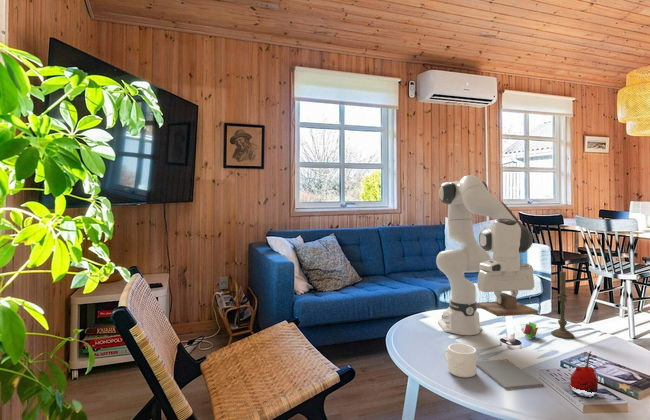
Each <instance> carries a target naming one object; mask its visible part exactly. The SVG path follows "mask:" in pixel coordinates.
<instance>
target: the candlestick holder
mask: <svg viewBox="0 0 650 420" xmlns="http://www.w3.org/2000/svg"><path fill="white" fill-rule="evenodd" d="M566 274H567V273H566V271H564V270H562V271H559V293H558V294H557V297H558V302H559V303H560V304H559V305H560V306H559V308H560V318H559V319H558V320H557V323H558V325H559V328H556V329H554V330H551V332H550V334H551V336H553V337H556V338H560V339H564V338H565V339H566V340H567V339H568V340H569V339H573V338H575V334H574V333H572V332H570V330H567V329H566V326H567V323H568V321H567V320H566V319H565V309H566V304H565V303H566V302H568V301H567V300H568V299H567V298H568V295H567V294H566V286H567V285H566V284H567V283H566ZM565 339H564V340H565Z"/></svg>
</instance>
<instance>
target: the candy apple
mask: <svg viewBox="0 0 650 420" xmlns="http://www.w3.org/2000/svg"><path fill="white" fill-rule="evenodd" d="M585 353H586V354H587V360H585V361H586V364H585V366H579V365H578V366H576V367H575V370H574V371H573V372H572V374H571V375H570V377H569V380H570V382H569V386H570V385H571V386H572V387H574V388H576V389H580V390H585V391H587V392H591V393H592V392H597V391H598V384H599V381H598V376H597V375H596V373H595V370H594V367H592V366H589V362H590V358H593V359H597V355H596V354H595V355H592V354H591V353H592V351H589V352H587V351H585ZM597 393H598V392H597Z"/></svg>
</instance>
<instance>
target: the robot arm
mask: <svg viewBox="0 0 650 420" xmlns="http://www.w3.org/2000/svg"><path fill="white" fill-rule="evenodd" d="M438 197H439V200H440V202H441V203H443V204H444V205H445V204H446V205H448V207H447V226H448V236H449V238H450V239H451V240H452V241H453V242H456V243H458V245H459V246H460V248H461V249H447V250H442V251H439V253H438V254H437V255H436V259H435V263H436V266H437V269H438V270H439V271H440V272H442V273H443V274H444V275H445V276H446V278H447V279H448V282H449V285H450V291H451V292H450V297H451V299H450V300H449V301H448V302H449V306H448V307H447V308H446V309H445V310H444V311H443V312H442V314H441V319H438V320H437V323H438V325H439V326H440V327H441V328H442V330H443V331H444V332H446V333H451V334H457V335H463V336H474V335H478V334H479V333H480V332H481V331H482V330H483V327H482V326H481V325H480V323H481V322H480V313H479V312H478V311H477V310H478V306H477V303H478V302H477V300H476V299H477V294H476V293H477V291H476V290H477V288H478V290H479V291H481V292H483V293H493V294H494V295H495V297H496V302H497V303H499V304H502V303H504V302H503V301H504V299H503V298H501V296H500V294H501V293H502V292H511V294H510V295H511V296H514V297H516V298H517V296H518V294H519V291H531V290H533V289H534V288H535V279H534V267H533V266H532V265H530V264H529V263H521V255H520V254H524V253H526V252H527V251H528V250H529V249H530V248H531V247H532V245H533V241H534V240H533V235H532V232H531V231H530V230H529V228H528V227H526V226H525V225H523V224H522V223H521V221H520V220H519V219H518V217H516V216H515V215H514V213H513V212H512V210H511V209H510V208H509V207H508V206H507V205H506V204H505V203H504V202H503V201H502V200H500V199H498V198H496V197H495V196H493V194H492V193H490V192H489V188H488V184H487V183H486V182H485V181H483V180H481V179H480V178H479V176H476V175H473V174H470V175H466V176H463V177H462V178H461V179H460V180H457V181H446V182H443V183H442V184H441V185H440V186H439V191H438ZM472 214H474V215H477V216H482V217H483V216H484V217H489V218H492V219H495V220H494V221H493V224H492V225H490V226H487V227H484V228H483V229H482V230H480V232H479V236H478V241H477V240H476V237H475V233H474V227H473V220H472V219H473V218H472V217H473V216H472ZM478 242H479V243H478ZM489 252H490V253H492V258H491V255H490V254H489ZM465 273H478V276H477V288H476V285H475V284H474V282H472V281H470V280H469V279H467V278H466V276H465Z"/></svg>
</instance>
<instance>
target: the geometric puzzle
mask: <svg viewBox="0 0 650 420" xmlns="http://www.w3.org/2000/svg"><path fill="white" fill-rule="evenodd" d="M520 330H521V332H522V334H524V337H526V338H528V339H531V340H533V339H534V338H536V337H538V335H537V334H540V331H538V330H539V327H537V324H535V323H532V322H530V321H528V323H527V324H526V323H525V324H522V326H521V329H520ZM538 332H539V333H538ZM536 335H537V336H536Z"/></svg>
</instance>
